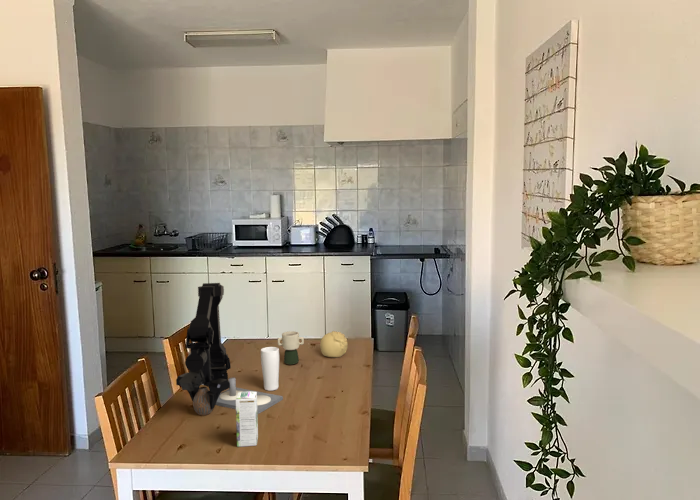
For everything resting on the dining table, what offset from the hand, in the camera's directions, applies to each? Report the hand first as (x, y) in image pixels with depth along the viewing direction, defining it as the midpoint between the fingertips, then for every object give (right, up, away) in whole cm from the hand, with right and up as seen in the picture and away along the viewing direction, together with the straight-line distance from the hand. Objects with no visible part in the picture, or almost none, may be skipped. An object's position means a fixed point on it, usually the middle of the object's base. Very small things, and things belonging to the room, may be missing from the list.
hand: (204, 407), depth 190 cm
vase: (0, -2, 0) cm, 2 cm away
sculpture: (+42, +6, +60) cm, 73 cm away
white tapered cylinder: (+19, +1, +21) cm, 29 cm away
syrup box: (+19, -4, -22) cm, 29 cm away
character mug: (+24, +4, +51) cm, 56 cm away
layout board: (+12, -1, +10) cm, 15 cm away
